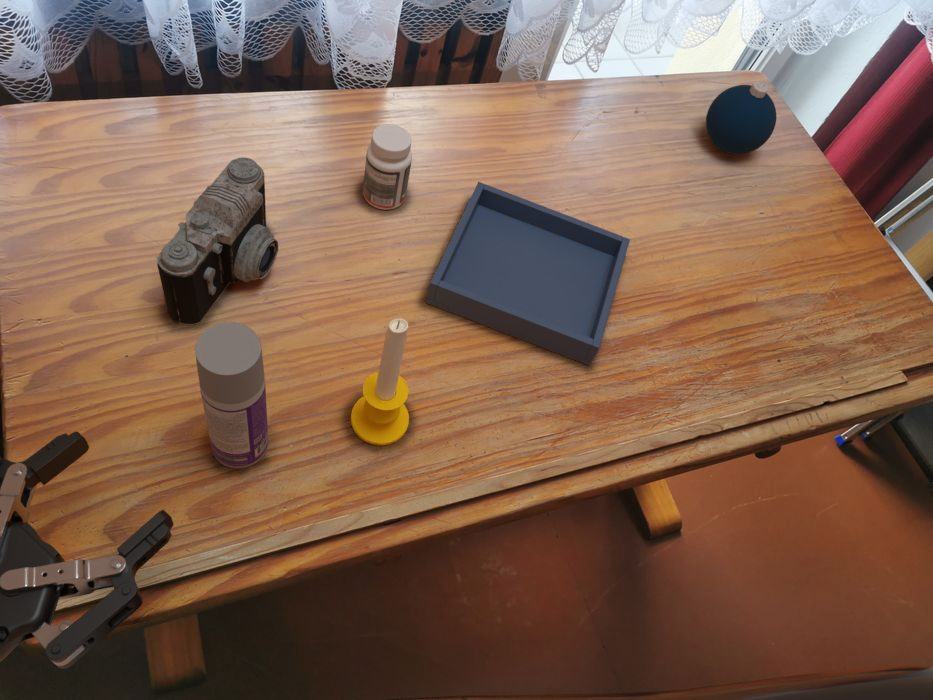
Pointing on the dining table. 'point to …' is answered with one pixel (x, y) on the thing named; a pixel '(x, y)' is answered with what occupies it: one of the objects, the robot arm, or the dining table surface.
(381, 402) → the candle
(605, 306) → the tray
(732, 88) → the christmas ornament
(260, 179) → the camera
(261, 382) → the container
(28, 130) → the dining table surface
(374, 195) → the pill bottle
